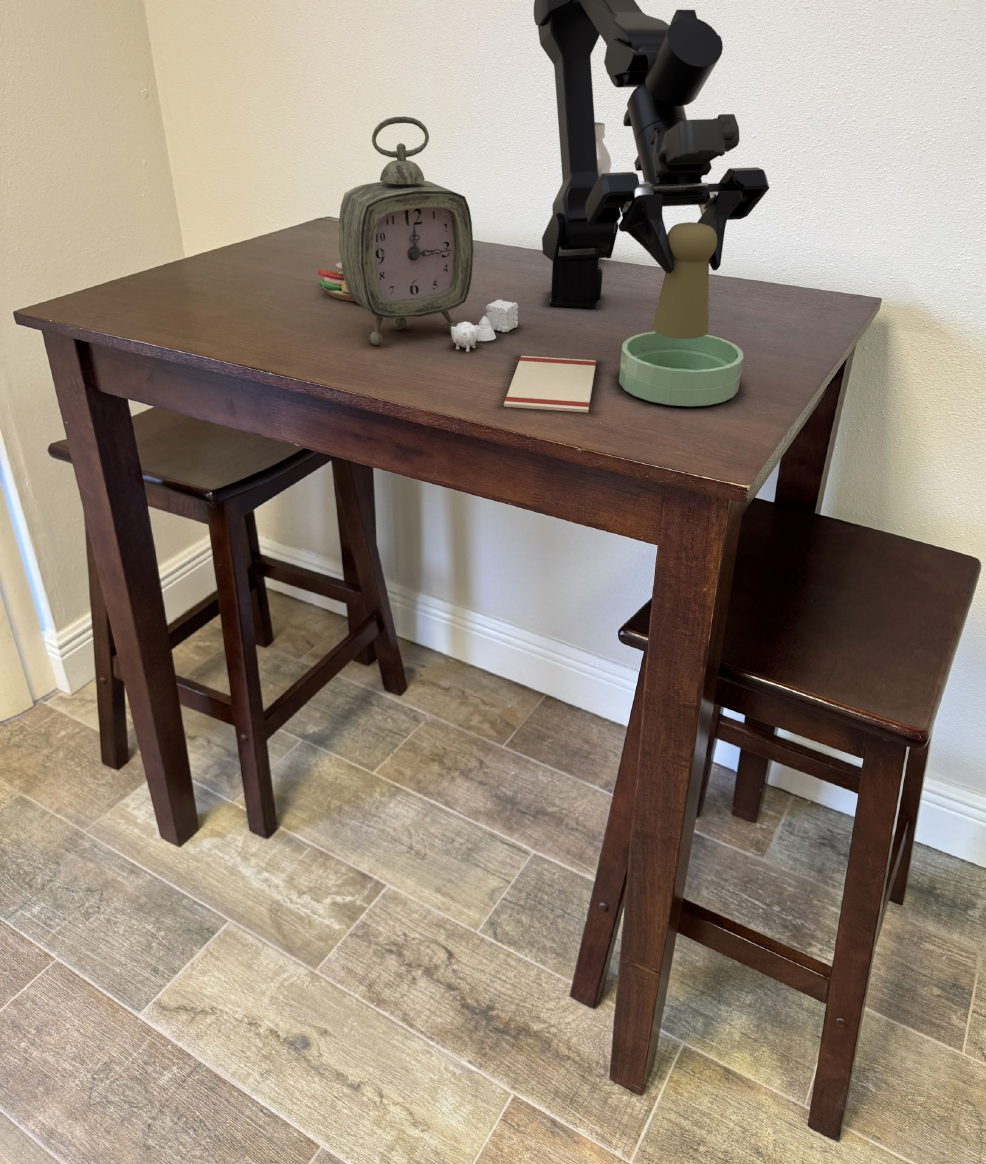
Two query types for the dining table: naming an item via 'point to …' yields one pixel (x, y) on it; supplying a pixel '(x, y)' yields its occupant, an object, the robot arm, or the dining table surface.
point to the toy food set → (335, 283)
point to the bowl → (680, 369)
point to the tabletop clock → (405, 241)
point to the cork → (686, 283)
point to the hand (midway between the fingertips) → (693, 269)
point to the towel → (552, 384)
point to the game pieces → (487, 324)
